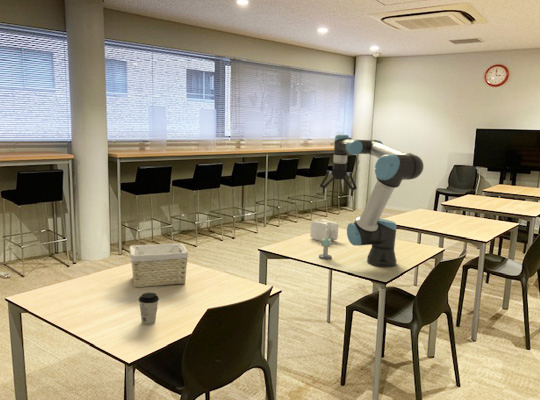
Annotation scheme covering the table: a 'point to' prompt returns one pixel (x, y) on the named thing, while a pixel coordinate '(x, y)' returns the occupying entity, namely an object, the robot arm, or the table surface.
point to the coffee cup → (148, 308)
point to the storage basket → (158, 264)
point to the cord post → (325, 249)
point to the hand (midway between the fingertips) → (337, 200)
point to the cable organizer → (324, 230)
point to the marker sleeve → (326, 242)
